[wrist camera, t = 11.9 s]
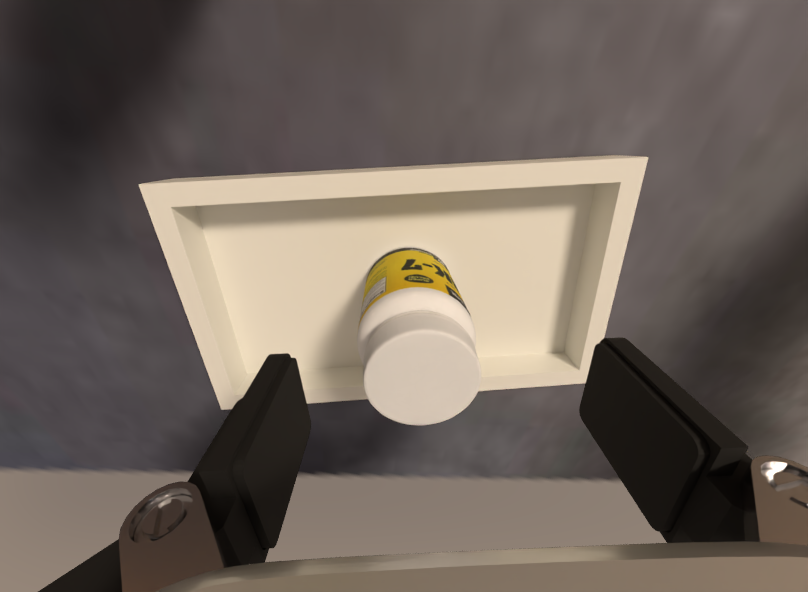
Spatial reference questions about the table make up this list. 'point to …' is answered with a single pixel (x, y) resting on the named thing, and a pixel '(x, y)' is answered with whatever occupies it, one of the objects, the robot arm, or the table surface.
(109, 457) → the table surface
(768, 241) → the table surface
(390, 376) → the supplement bottle
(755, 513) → the robot arm
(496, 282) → the tray
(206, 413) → the table surface
